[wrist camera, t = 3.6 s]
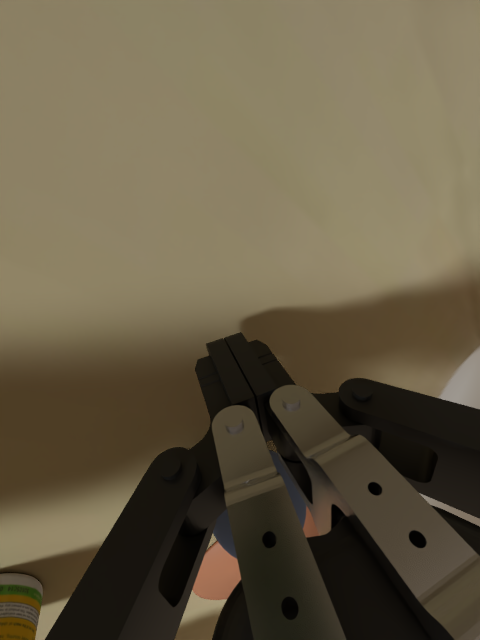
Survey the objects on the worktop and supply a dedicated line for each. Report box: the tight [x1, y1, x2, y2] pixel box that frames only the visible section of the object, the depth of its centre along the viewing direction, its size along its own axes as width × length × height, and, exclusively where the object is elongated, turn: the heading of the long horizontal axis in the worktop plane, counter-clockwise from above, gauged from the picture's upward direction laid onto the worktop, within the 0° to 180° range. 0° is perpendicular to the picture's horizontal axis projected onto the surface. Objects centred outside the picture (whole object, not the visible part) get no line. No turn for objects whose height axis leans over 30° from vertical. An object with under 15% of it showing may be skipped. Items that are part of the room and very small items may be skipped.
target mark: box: [193, 505, 320, 600], centre depth 26 cm, size 13×13×1 cm
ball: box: [213, 449, 306, 559], centre depth 17 cm, size 6×6×6 cm
